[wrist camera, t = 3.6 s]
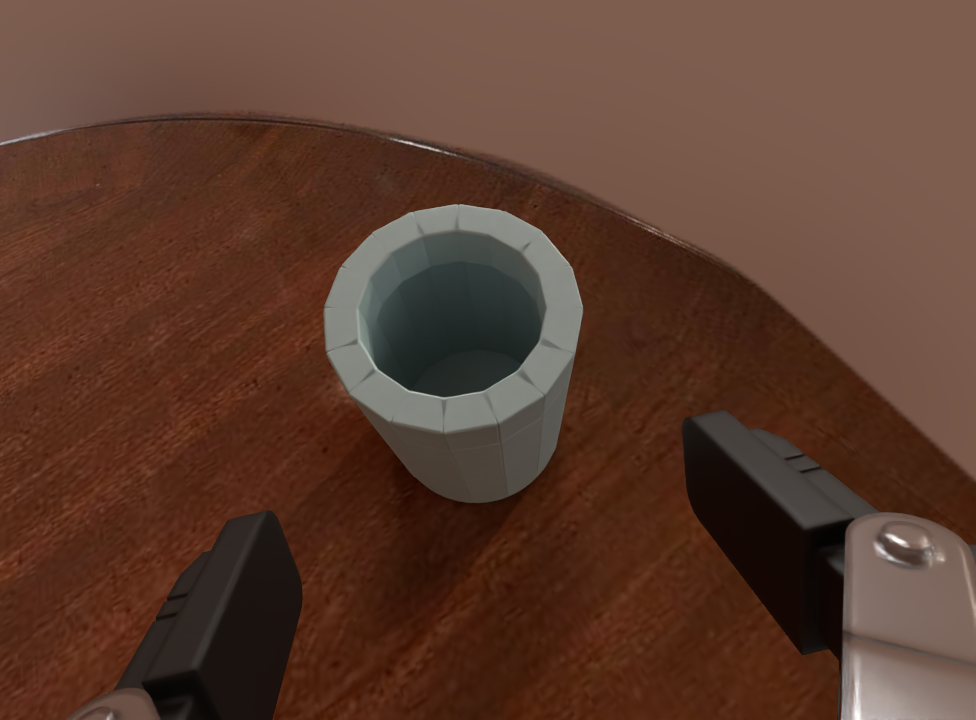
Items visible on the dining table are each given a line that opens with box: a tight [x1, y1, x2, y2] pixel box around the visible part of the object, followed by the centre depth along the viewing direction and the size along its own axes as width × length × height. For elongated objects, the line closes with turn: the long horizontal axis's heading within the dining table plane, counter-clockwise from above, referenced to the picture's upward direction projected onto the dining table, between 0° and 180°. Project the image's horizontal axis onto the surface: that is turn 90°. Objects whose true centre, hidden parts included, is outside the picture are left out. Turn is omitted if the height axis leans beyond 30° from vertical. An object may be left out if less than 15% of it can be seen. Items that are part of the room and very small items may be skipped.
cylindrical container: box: [324, 205, 583, 503], centre depth 18 cm, size 6×6×9 cm
